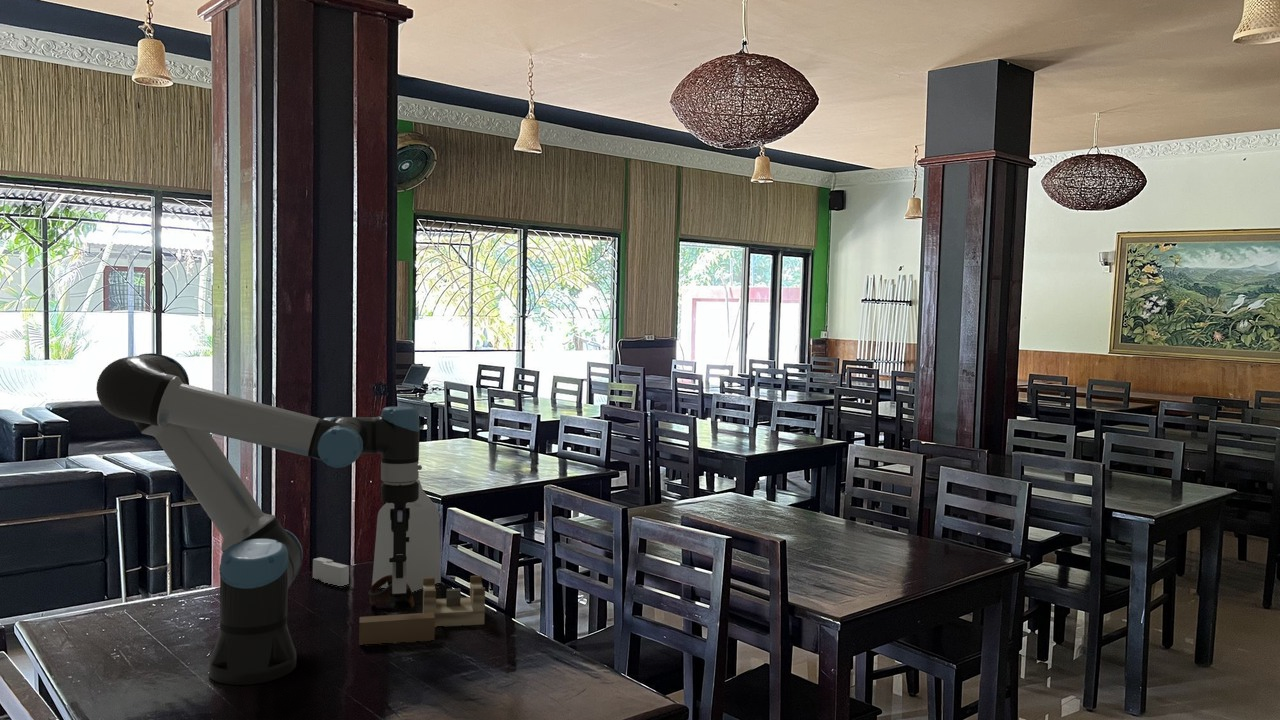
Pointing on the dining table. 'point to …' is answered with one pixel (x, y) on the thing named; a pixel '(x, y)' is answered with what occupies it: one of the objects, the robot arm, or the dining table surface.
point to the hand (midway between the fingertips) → (399, 583)
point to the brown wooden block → (397, 628)
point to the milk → (410, 543)
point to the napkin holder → (330, 572)
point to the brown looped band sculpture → (388, 592)
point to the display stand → (455, 604)
